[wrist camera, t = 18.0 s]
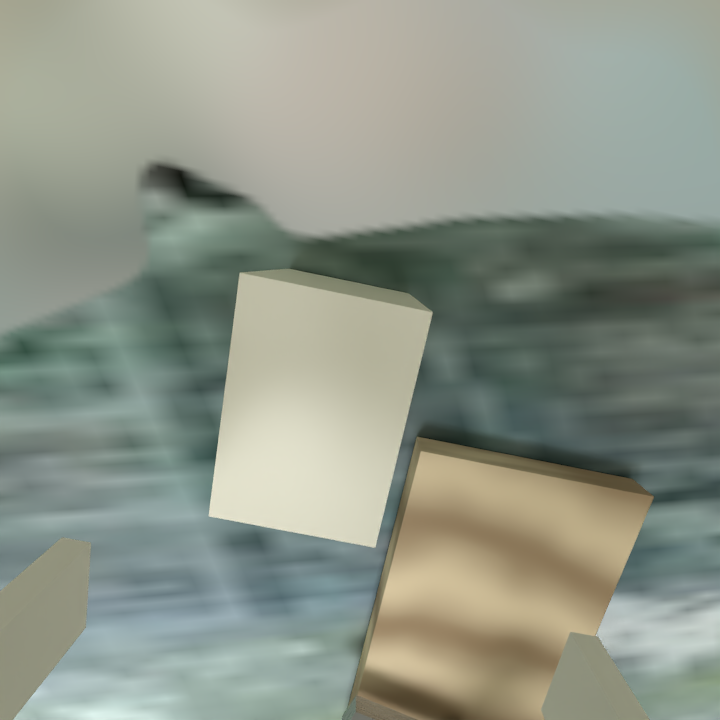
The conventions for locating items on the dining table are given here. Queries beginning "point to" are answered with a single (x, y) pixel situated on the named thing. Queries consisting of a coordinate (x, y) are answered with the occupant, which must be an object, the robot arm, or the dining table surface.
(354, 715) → the t key
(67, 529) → the dining table surface
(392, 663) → the base plate
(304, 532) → the cream rectangular block
